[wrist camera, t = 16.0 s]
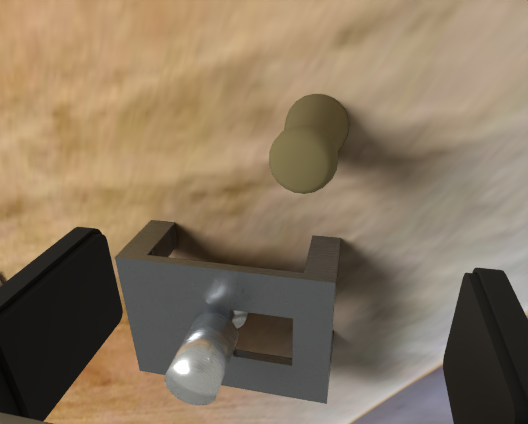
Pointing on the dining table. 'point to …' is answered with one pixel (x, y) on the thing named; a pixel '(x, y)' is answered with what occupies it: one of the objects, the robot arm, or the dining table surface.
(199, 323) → the peg
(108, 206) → the dining table surface
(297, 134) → the cork
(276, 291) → the grey windowed bracket
